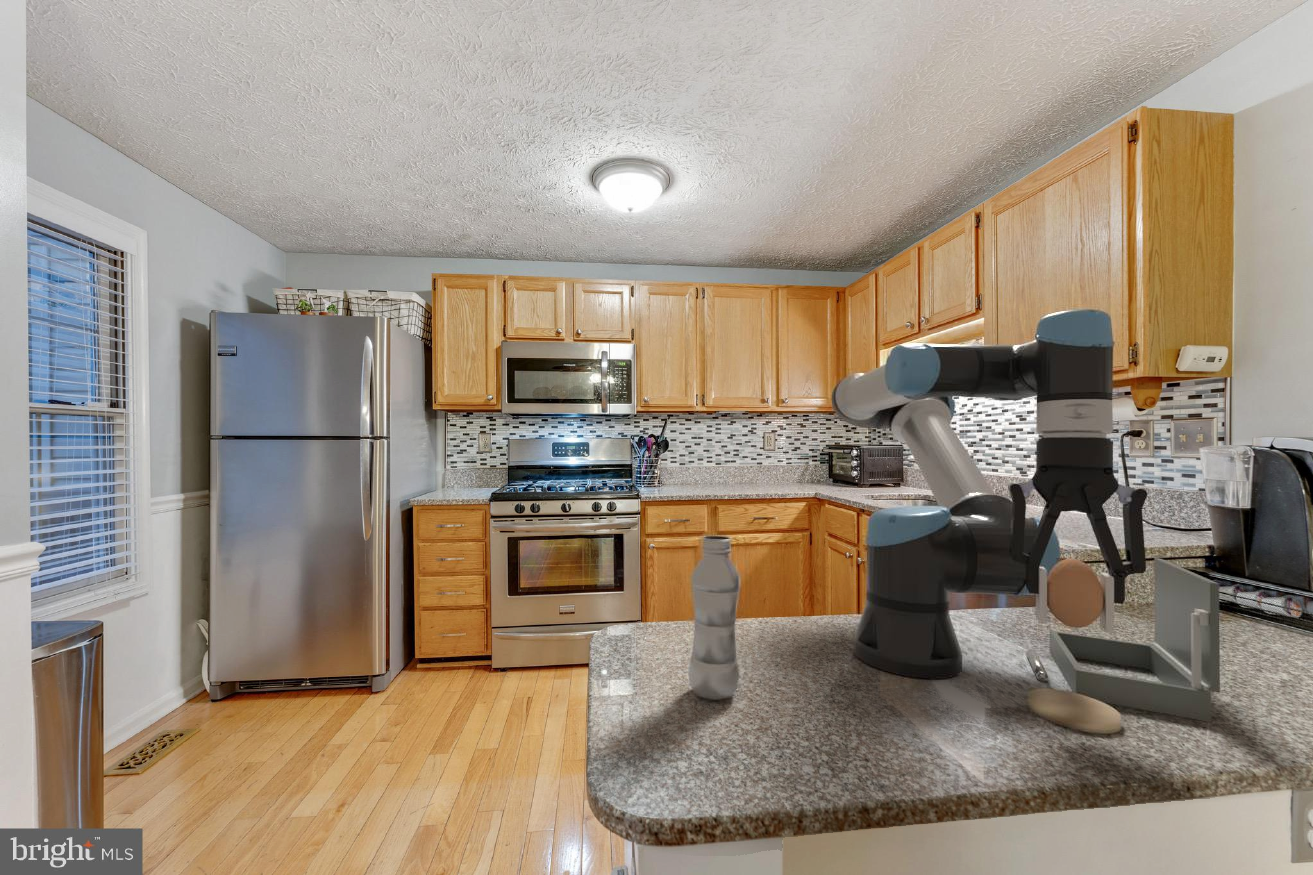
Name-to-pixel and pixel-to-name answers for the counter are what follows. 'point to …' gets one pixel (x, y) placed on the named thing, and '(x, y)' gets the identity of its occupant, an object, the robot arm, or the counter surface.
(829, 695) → the counter surface
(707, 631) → the plastic bottle
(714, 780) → the counter surface
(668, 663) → the counter surface
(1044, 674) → the rod
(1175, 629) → the grey hinged box
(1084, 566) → the egg
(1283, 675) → the counter surface
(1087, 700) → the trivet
